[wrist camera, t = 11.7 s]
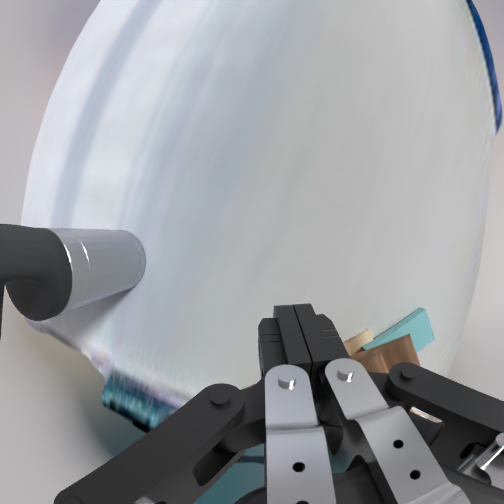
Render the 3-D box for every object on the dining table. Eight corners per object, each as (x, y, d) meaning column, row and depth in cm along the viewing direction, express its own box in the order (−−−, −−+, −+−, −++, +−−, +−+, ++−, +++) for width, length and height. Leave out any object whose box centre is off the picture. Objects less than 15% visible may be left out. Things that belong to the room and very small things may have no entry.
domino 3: (350, 393, 36) (420, 369, 31) (336, 365, 36) (410, 339, 31) (351, 386, 38) (419, 363, 33) (338, 359, 38) (409, 333, 33)
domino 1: (321, 406, 37) (392, 387, 32) (306, 379, 37) (380, 357, 32) (324, 399, 38) (392, 380, 33) (309, 373, 38) (380, 350, 33)
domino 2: (378, 378, 36) (434, 338, 36) (366, 350, 36) (425, 309, 36) (374, 374, 37) (429, 336, 37) (362, 346, 37) (420, 307, 37)
